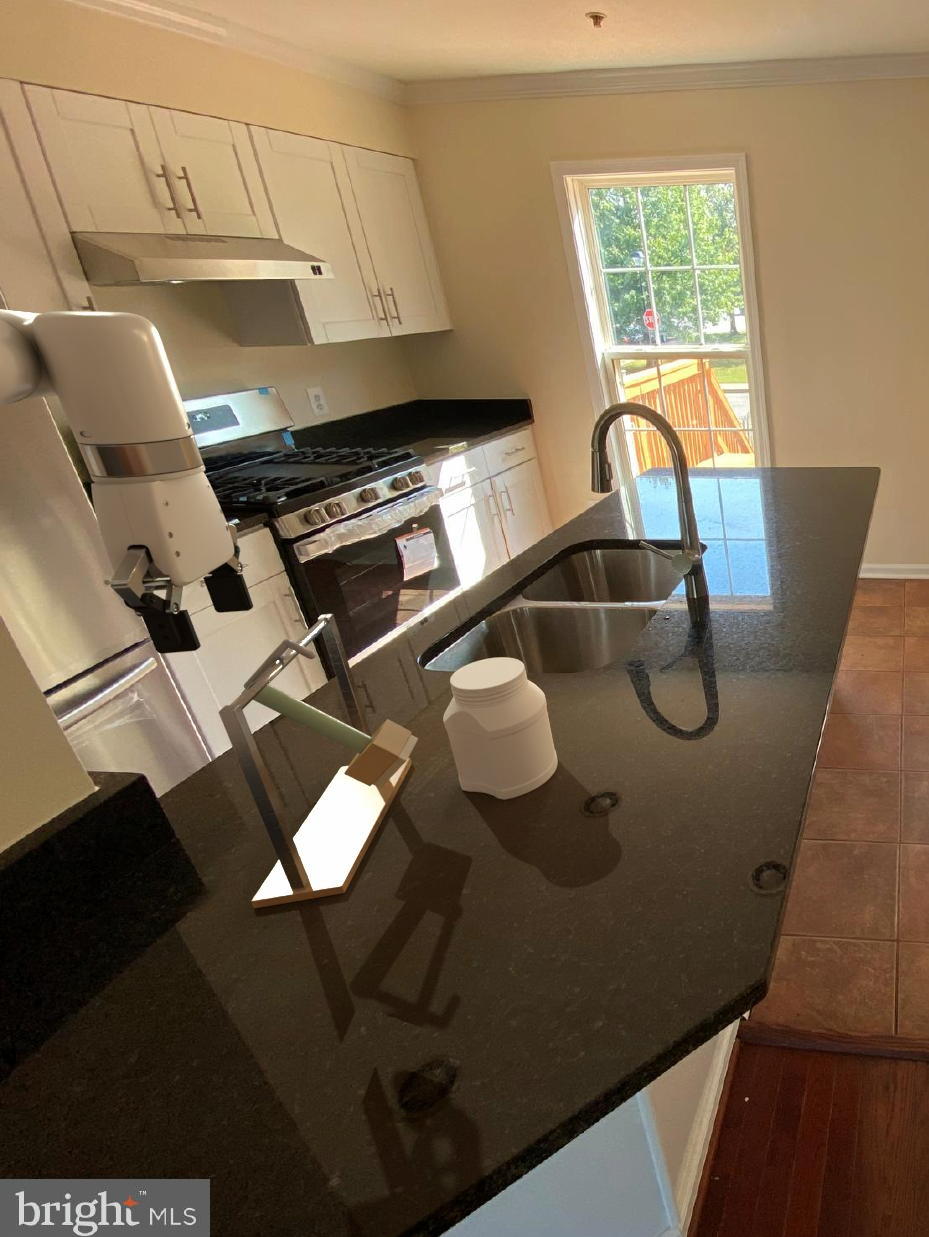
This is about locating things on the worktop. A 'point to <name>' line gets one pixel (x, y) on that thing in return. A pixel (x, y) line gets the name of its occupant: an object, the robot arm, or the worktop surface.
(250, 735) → the metal frame rack
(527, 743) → the jar
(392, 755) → the hook stand
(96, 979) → the worktop surface
